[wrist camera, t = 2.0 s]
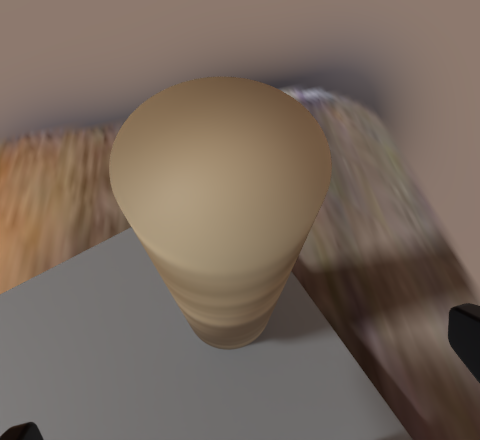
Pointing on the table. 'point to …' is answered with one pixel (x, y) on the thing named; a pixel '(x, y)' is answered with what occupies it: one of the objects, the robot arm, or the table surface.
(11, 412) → the floor panel
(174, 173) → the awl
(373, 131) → the table surface
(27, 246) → the table surface
